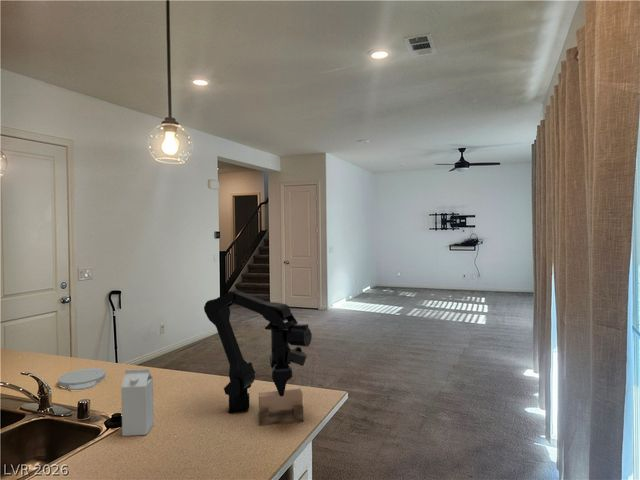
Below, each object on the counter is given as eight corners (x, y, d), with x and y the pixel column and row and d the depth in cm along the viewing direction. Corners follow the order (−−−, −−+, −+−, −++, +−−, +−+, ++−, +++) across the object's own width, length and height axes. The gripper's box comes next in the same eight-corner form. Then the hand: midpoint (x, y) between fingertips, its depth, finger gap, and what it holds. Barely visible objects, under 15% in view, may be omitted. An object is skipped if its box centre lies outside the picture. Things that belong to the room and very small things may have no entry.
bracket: (259, 425, 130) (259, 410, 130) (259, 412, 139) (258, 399, 139) (303, 421, 133) (303, 407, 132) (300, 409, 142) (300, 396, 141)
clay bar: (259, 412, 133) (259, 397, 133) (258, 407, 136) (258, 392, 136) (302, 407, 136) (302, 392, 136) (300, 403, 140) (300, 388, 139)
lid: (56, 396, 156) (55, 388, 156) (59, 379, 174) (58, 372, 174) (107, 387, 165) (107, 379, 165) (105, 372, 182) (105, 365, 182)
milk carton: (131, 425, 131) (129, 366, 131) (154, 424, 132) (152, 365, 131) (122, 436, 124) (120, 374, 124) (146, 435, 125) (145, 373, 124)
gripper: (308, 350, 127) (308, 400, 128) (301, 334, 146) (302, 378, 146) (271, 352, 126) (272, 403, 126) (269, 336, 144) (270, 381, 144)
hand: (280, 390), depth 136 cm, fingers open, 9 cm apart
